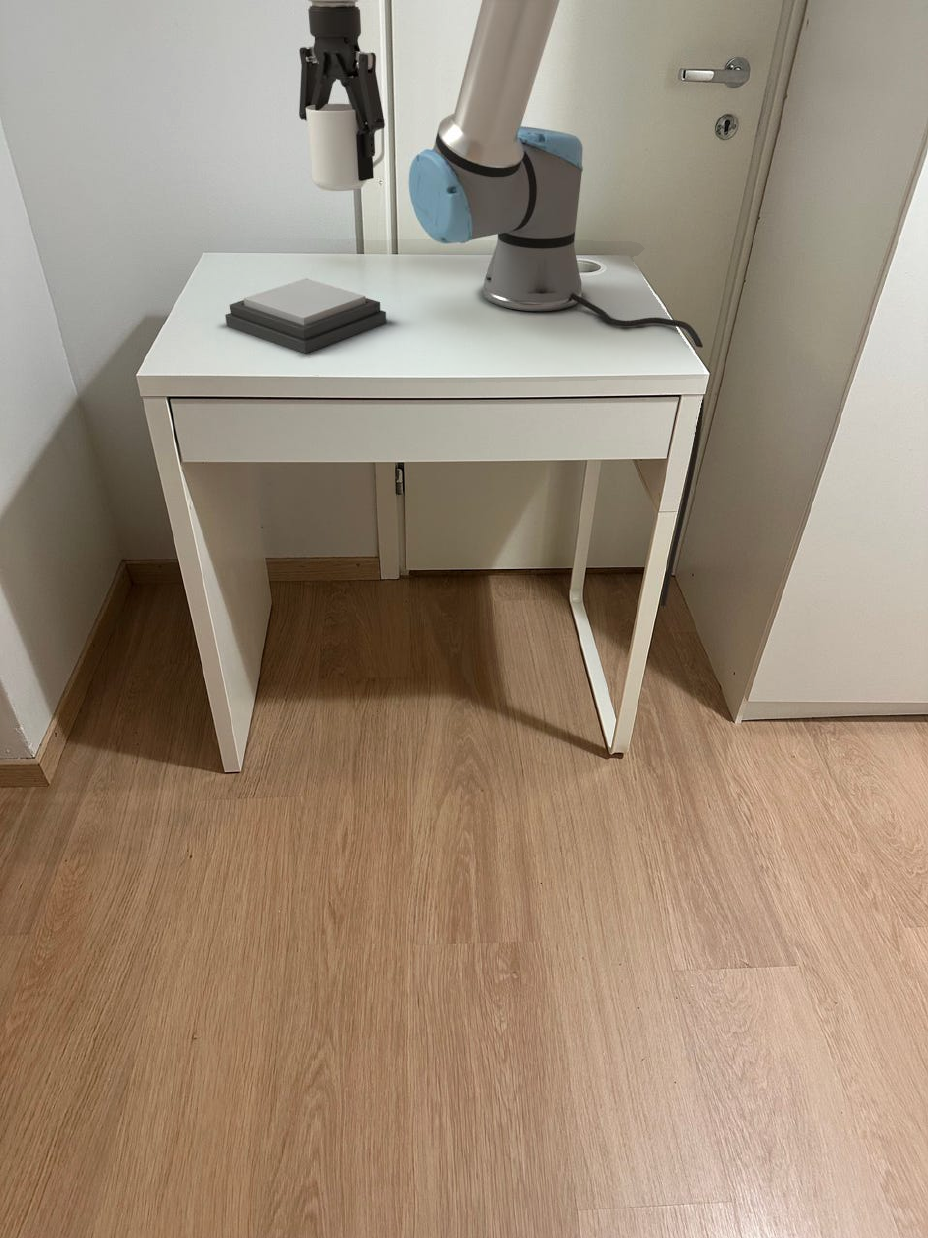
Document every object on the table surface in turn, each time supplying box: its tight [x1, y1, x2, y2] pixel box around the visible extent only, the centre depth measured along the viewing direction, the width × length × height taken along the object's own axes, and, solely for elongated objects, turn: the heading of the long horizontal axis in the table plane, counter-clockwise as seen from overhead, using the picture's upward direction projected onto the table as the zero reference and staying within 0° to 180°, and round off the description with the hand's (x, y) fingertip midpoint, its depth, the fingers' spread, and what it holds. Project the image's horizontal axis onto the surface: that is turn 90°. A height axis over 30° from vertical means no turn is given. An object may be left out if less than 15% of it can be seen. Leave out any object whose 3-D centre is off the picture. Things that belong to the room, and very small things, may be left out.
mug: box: [306, 103, 385, 192], centre depth 139 cm, size 12×9×11 cm
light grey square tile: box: [243, 278, 367, 326], centre depth 124 cm, size 12×12×1 cm
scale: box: [224, 297, 387, 355], centre depth 125 cm, size 16×16×3 cm
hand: (344, 174), depth 142 cm, fingers closed on mug, 9 cm apart
